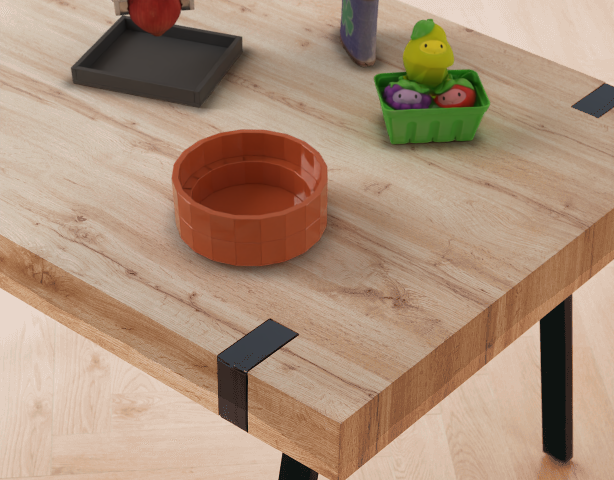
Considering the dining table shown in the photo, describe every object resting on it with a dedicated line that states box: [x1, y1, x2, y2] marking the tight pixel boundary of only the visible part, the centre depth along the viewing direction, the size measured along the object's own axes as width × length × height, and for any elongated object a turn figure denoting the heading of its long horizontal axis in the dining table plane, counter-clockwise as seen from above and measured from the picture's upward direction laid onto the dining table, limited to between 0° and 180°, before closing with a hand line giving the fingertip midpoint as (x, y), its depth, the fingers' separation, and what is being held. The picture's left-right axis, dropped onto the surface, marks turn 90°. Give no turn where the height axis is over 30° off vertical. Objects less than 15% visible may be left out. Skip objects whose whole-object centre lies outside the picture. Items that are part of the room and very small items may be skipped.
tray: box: [70, 15, 244, 109], centre depth 123 cm, size 15×13×2 cm
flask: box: [339, 0, 380, 68], centre depth 126 cm, size 9×3×11 cm, turn 16°
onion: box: [127, 0, 182, 36], centre depth 118 cm, size 6×6×8 cm
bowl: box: [170, 128, 329, 267], centre depth 101 cm, size 14×14×6 cm
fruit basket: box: [373, 18, 491, 145], centre depth 113 cm, size 11×9×11 cm
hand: (155, 10), depth 119 cm, fingers closed on onion, 6 cm apart
